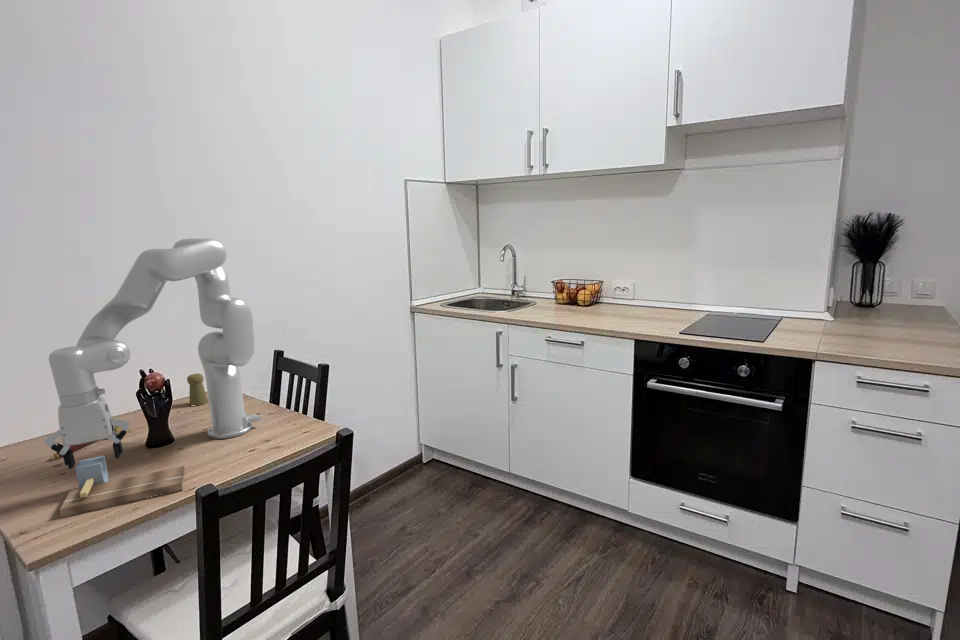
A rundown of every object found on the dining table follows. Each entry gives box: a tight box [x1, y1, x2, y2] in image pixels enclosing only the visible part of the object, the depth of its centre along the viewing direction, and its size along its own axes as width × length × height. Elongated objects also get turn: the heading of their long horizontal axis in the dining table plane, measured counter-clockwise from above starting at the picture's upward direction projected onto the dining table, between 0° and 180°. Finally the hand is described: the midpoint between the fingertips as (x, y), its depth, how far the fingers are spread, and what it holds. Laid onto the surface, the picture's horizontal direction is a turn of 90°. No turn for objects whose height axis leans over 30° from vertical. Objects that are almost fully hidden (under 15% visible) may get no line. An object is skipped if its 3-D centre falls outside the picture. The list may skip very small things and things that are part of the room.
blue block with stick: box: [75, 455, 110, 498], centre depth 126 cm, size 5×13×7 cm, turn 26°
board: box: [59, 465, 186, 518], centre depth 126 cm, size 24×10×2 cm, turn 116°
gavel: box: [50, 426, 130, 461], centre depth 156 cm, size 21×5×10 cm
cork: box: [186, 373, 209, 407], centre depth 188 cm, size 6×6×11 cm
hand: (95, 461), depth 130 cm, fingers open, 9 cm apart
